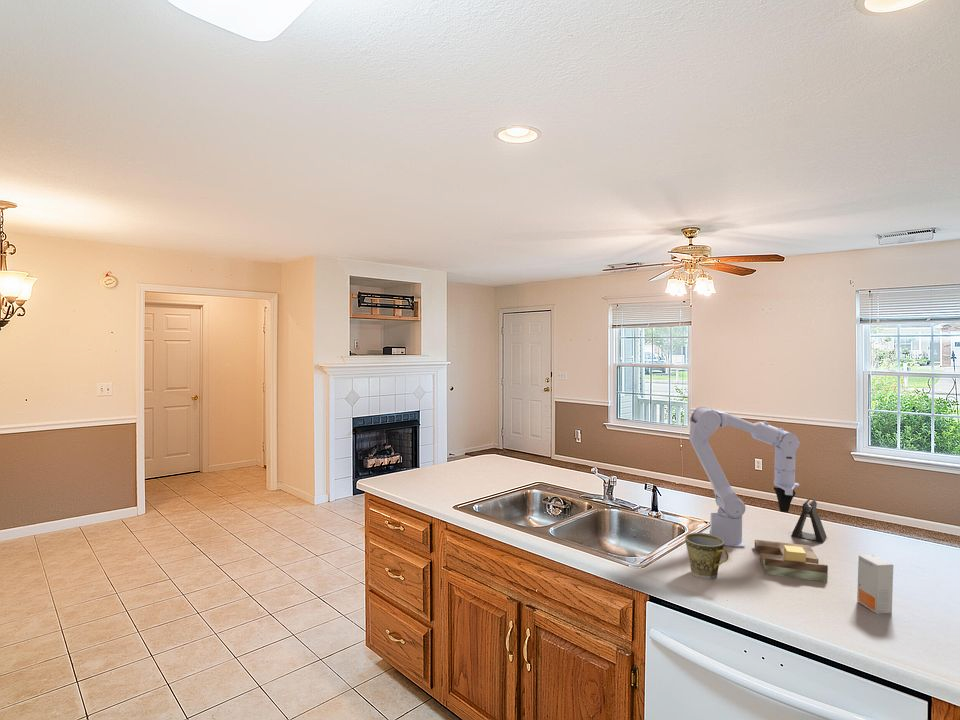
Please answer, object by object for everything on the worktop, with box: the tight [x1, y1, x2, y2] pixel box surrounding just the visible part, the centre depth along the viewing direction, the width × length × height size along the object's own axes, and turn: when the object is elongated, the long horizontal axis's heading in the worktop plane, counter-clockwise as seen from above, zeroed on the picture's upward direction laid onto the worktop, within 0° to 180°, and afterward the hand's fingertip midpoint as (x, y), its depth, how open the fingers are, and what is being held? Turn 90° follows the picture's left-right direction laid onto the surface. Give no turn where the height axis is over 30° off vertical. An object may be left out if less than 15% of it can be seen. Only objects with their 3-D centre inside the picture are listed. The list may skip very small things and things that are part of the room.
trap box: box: [754, 539, 829, 583], centre depth 156 cm, size 15×20×4 cm
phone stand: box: [790, 498, 828, 544], centre depth 176 cm, size 9×6×12 cm, turn 47°
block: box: [784, 545, 806, 562], centre depth 149 cm, size 4×4×4 cm
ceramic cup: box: [684, 532, 729, 581], centre depth 147 cm, size 13×10×10 cm
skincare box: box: [856, 554, 894, 615], centre depth 130 cm, size 6×4×12 cm
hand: (783, 511), depth 170 cm, fingers closed
